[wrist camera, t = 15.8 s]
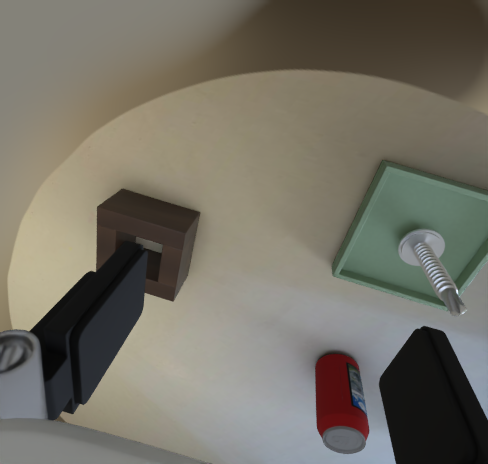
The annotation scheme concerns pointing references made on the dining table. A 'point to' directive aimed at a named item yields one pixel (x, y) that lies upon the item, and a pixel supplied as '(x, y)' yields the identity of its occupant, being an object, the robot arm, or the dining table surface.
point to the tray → (406, 220)
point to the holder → (149, 237)
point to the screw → (431, 265)
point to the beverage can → (340, 404)
